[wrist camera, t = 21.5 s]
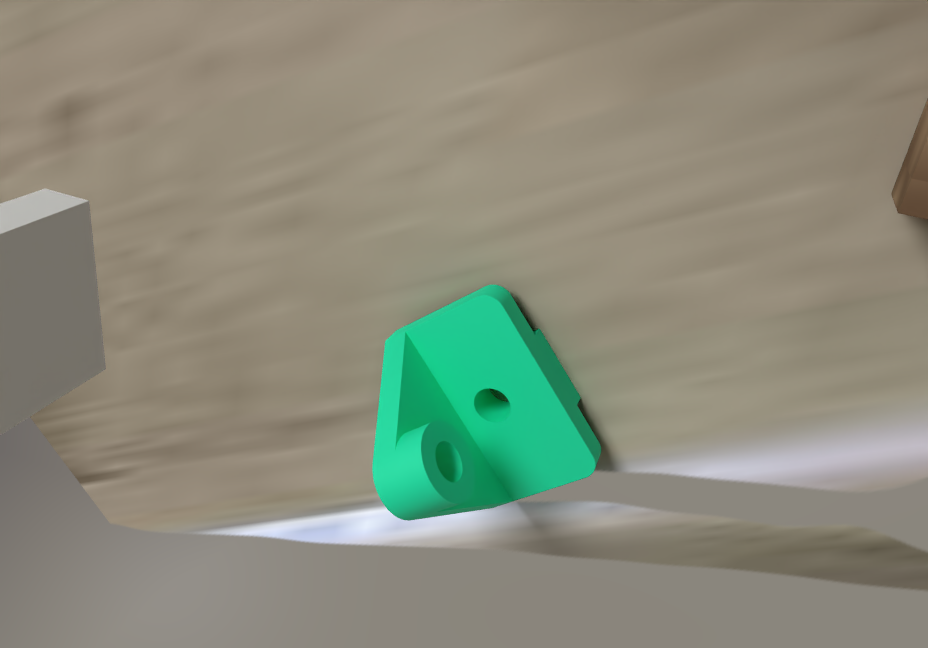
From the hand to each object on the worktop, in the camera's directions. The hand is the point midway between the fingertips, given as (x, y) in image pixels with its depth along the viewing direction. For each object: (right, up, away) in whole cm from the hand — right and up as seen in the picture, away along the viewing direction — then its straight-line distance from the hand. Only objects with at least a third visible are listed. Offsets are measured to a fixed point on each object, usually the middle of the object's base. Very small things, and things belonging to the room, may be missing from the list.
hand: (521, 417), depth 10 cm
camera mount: (+2, -2, +38) cm, 38 cm away
